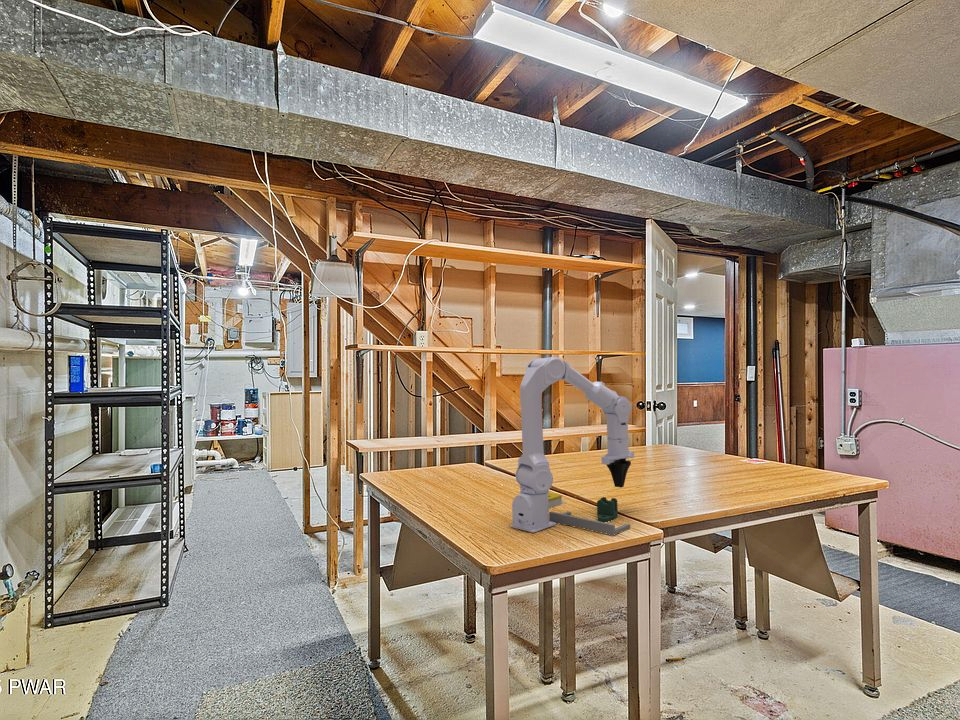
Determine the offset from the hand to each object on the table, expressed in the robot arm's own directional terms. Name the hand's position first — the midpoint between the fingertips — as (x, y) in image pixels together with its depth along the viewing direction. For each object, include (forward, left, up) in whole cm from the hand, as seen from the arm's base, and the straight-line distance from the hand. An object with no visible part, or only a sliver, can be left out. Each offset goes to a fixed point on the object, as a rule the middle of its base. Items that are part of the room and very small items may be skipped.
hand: (619, 486), depth 144 cm
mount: (-7, 0, -8) cm, 10 cm away
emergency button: (-7, +23, -8) cm, 25 cm away
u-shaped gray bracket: (-16, 0, -7) cm, 17 cm away
